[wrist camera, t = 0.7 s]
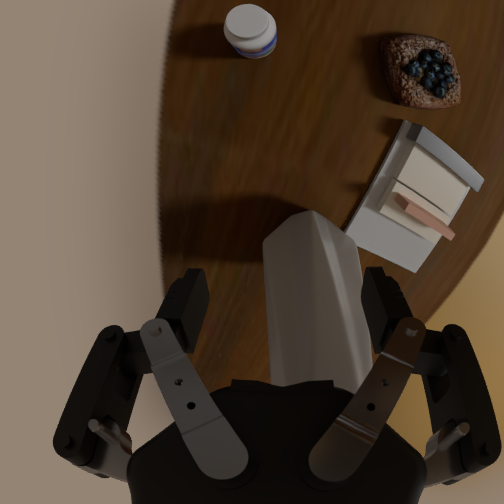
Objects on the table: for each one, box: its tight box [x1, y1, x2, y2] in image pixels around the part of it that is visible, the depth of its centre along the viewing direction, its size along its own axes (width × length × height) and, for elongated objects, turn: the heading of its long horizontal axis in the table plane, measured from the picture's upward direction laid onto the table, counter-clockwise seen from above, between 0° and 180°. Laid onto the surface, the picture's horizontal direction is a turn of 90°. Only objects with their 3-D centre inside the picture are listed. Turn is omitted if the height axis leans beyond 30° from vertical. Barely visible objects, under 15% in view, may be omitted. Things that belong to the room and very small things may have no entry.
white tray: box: [344, 120, 484, 273], centre depth 34 cm, size 20×16×4 cm
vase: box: [263, 210, 372, 394], centre depth 26 cm, size 12×12×33 cm
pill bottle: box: [224, 4, 277, 59], centre depth 22 cm, size 6×5×10 cm
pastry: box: [379, 34, 461, 109], centre depth 23 cm, size 11×12×6 cm
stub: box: [376, 178, 455, 244], centre depth 33 cm, size 5×12×5 cm, turn 69°
